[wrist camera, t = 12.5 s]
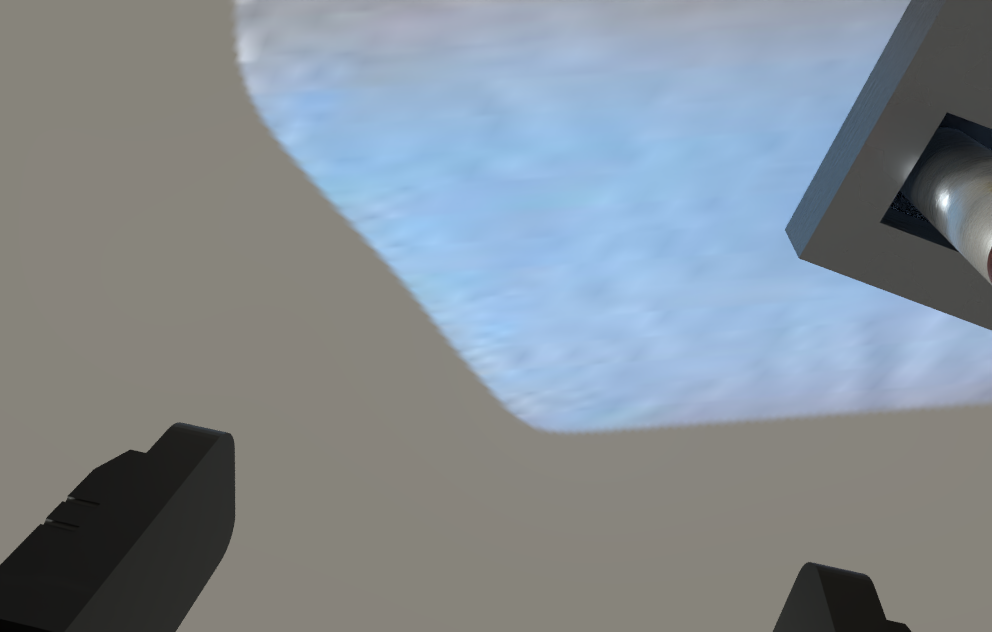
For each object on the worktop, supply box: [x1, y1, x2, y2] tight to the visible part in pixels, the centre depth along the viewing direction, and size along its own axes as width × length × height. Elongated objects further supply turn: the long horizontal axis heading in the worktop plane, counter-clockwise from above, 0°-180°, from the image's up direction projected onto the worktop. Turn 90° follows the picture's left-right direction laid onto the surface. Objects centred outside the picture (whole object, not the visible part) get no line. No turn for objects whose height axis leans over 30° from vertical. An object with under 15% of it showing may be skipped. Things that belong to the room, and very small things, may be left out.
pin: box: [900, 127, 992, 285], centre depth 29 cm, size 3×3×12 cm
